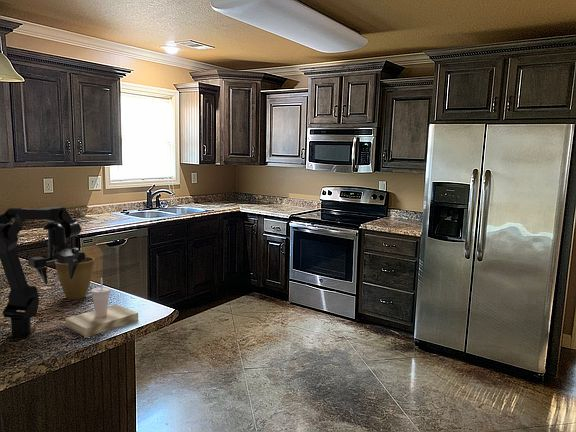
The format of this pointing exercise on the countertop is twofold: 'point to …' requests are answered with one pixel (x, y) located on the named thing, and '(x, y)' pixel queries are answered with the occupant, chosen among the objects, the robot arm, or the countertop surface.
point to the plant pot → (75, 278)
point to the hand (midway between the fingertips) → (58, 281)
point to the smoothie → (100, 300)
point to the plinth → (101, 320)
